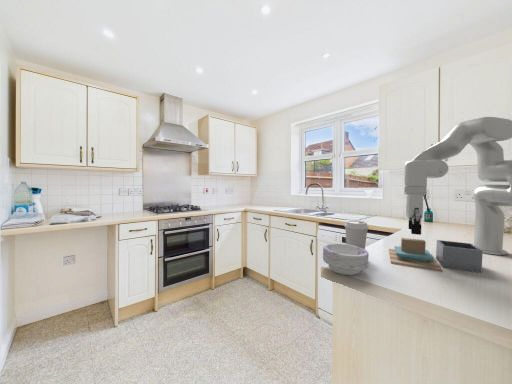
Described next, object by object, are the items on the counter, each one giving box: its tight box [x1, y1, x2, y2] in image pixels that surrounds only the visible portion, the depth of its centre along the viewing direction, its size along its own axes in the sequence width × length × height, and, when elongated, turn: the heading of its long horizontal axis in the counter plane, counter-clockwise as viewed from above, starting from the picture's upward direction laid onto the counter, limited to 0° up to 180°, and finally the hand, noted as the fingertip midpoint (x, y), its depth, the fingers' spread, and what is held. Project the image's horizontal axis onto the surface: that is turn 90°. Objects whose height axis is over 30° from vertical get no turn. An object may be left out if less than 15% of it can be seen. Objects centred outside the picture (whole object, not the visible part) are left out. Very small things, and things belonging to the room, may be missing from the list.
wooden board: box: [388, 248, 443, 272], centre depth 94 cm, size 20×16×1 cm
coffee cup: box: [343, 220, 370, 250], centre depth 96 cm, size 10×10×15 cm
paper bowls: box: [322, 242, 369, 276], centre depth 81 cm, size 15×15×8 cm
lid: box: [394, 237, 435, 262], centre depth 94 cm, size 12×12×8 cm
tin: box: [435, 239, 484, 274], centre depth 87 cm, size 11×11×8 cm
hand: (414, 231), depth 93 cm, fingers open, 9 cm apart
